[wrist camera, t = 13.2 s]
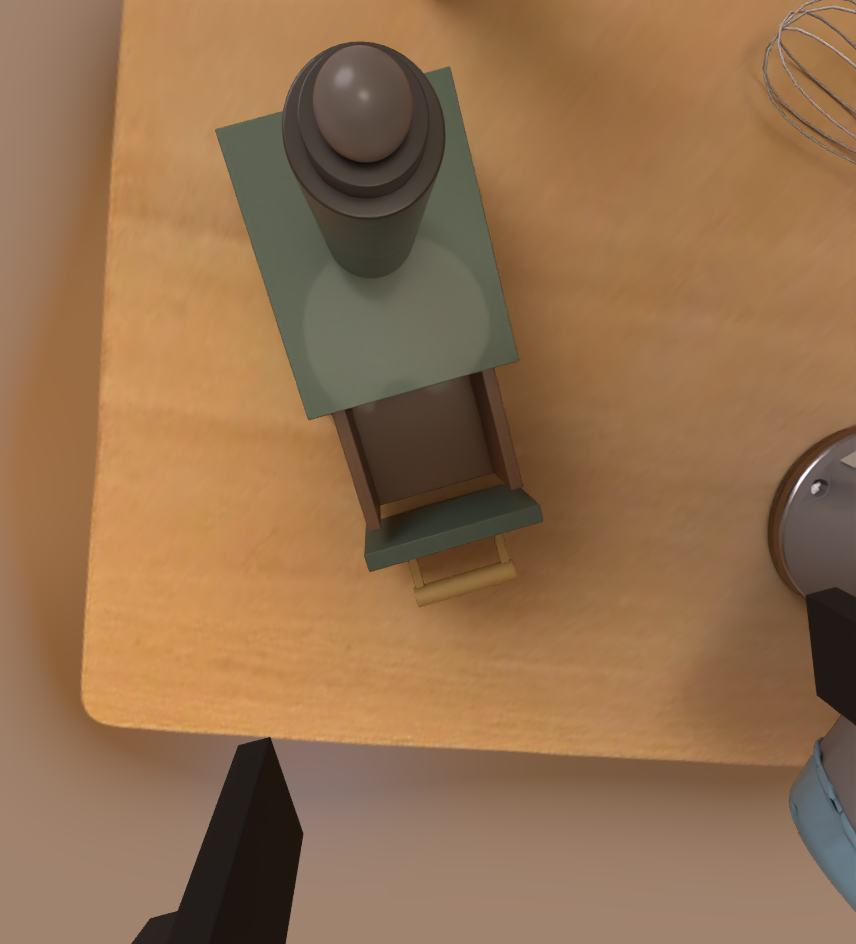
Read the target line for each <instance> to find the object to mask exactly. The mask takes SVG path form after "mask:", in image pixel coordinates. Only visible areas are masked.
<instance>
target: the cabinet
mask: <svg viewBox="0 0 856 944" xmlns="http://www.w3.org/2000/svg"><path fill="white" fill-rule="evenodd" d="M424 75H425V76H426V77H427V79H428V80H429V81H430V83H431V85H432V86H433V88H434V90H435V92H436V94H437V96H438V99H439V101H440V104H441V107H442V111H443V115H444V121H445V131H446V140H445V150H444V156H443V160H442V163H441V166H440V169H439V172H438V175H437V178H436V181H435V184H434V186H433V189H432V192H431V195H430V198H429V201H428V203H427V206H426V209H425V212H424V215H423V218H422V220H421V223H420V226H419V229H418V232H417V235H416V237H415V240H414V243H413V246H412V249H411V251H410V253H409V256H408V257H407V259H406V260H405V262H404V263H403V264H402V265H401V266H400V267H399V268H398V269H397V270H395V271H394V272H392V273H390V274H388V275H386V276H383V277H378V278H364V277H360V276H357V275H354V274H352V273H350V272H348V271H347V270H345V269H344V268H343V267H342V266H340V265H339V264H338V262H337V261H336V260H335V259H334V257H333V256H332V254H331V252H330V250H329V248H328V246H327V244H326V242H325V239H324V237H323V235H322V233H321V231H320V229H319V227H318V225H317V222H316V220H315V218H314V216H313V214H312V212H311V210H310V207H309V205H308V203H307V201H306V199H305V197H304V195H303V193H302V190H301V188H300V186H299V184H298V182H297V180H296V178H295V175H294V173H293V171H292V169H291V167H290V165H289V162H288V159H287V156H286V153H285V149H284V144H283V136H282V117H283V111H282V112H278V113H274V114H271V115H267V116H263V117H259V118H256V119H252V120H248V121H245V122H241V123H237V124H233V125H230V126H226V127H222V128H218V129H215V131H216V134H217V138H218V141H219V144H220V147H221V150H222V153H223V156H224V159H225V162H226V166H227V169H228V172H229V175H230V178H231V181H232V184H233V187H234V190H235V194H236V197H237V200H238V203H239V206H240V209H241V212H242V215H243V219H244V222H245V225H246V228H247V231H248V234H249V237H250V240H251V243H252V247H253V250H254V253H255V256H256V259H257V262H258V265H259V268H260V271H261V275H262V278H263V281H264V284H265V287H266V290H267V293H268V296H269V299H270V303H271V306H272V309H273V312H274V315H275V318H276V321H277V324H278V328H279V331H280V334H281V337H282V340H283V343H284V346H285V349H286V352H287V356H288V359H289V362H290V365H291V368H292V371H293V374H294V377H295V380H296V384H297V387H298V390H299V393H300V396H301V399H302V402H303V405H304V409H305V412H306V415H307V418H308V420H311V419H315V418H318V417H322V416H325V415H329V414H332V413H336V412H339V411H343V410H346V409H350V408H354V407H357V406H361V405H364V404H368V403H371V402H375V401H378V400H382V399H385V398H389V397H392V396H396V395H400V394H403V393H407V392H410V391H414V390H417V389H421V388H424V387H428V386H431V385H435V384H438V383H442V382H445V381H449V380H453V379H456V378H460V377H463V376H467V375H470V374H474V373H477V372H481V371H484V370H488V369H491V368H495V367H499V366H502V365H506V364H509V363H513V362H516V361H519V359H518V354H517V350H516V346H515V342H514V337H513V333H512V329H511V324H510V320H509V316H508V312H507V307H506V303H505V299H504V295H503V290H502V286H501V282H500V277H499V273H498V269H497V265H496V260H495V256H494V252H493V248H492V243H491V239H490V235H489V231H488V226H487V222H486V218H485V213H484V209H483V205H482V201H481V196H480V192H479V188H478V184H477V179H476V175H475V171H474V166H473V162H472V158H471V154H470V149H469V145H468V141H467V137H466V132H465V128H464V124H463V119H462V115H461V111H460V107H459V102H458V98H457V94H456V90H455V85H454V81H453V77H452V72H451V68H450V67H446V68H443V69H439V70H435V71H431V72H428V73H424Z"/></svg>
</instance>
